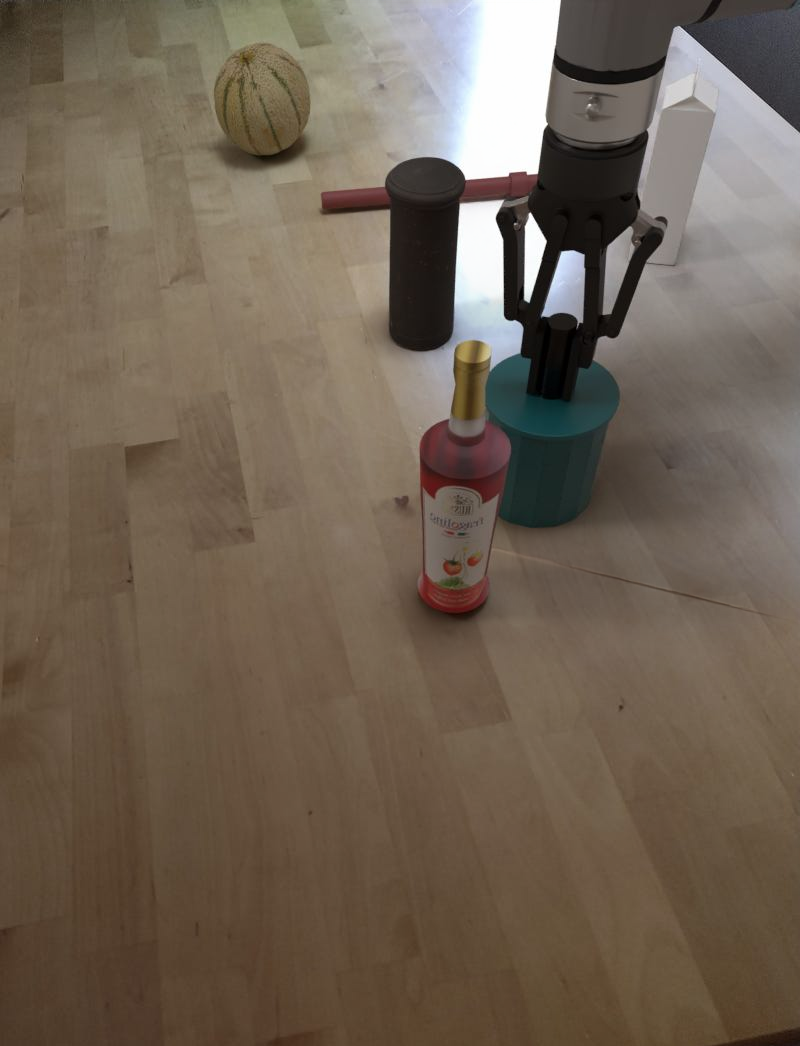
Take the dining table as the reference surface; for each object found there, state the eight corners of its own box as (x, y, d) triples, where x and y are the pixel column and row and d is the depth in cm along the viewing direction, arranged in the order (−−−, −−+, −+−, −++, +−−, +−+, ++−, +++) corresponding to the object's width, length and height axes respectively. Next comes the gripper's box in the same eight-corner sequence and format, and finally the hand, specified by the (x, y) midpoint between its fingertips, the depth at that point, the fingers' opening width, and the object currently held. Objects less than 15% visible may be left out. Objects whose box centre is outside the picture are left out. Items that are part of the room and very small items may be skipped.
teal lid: (629, 372, 87) (649, 292, 80) (602, 458, 80) (622, 379, 73) (501, 349, 90) (510, 270, 83) (465, 430, 83) (472, 351, 76)
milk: (627, 261, 118) (666, 79, 100) (632, 236, 121) (671, 56, 103) (675, 266, 116) (724, 82, 98) (679, 240, 120) (727, 58, 102)
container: (445, 304, 115) (453, 144, 99) (464, 346, 110) (476, 184, 93) (379, 315, 114) (377, 156, 98) (395, 358, 109) (395, 197, 93)
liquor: (494, 569, 89) (529, 325, 66) (486, 627, 85) (519, 388, 62) (421, 560, 90) (430, 317, 67) (409, 617, 86) (414, 379, 63)
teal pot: (600, 465, 96) (624, 369, 86) (576, 542, 90) (599, 448, 80) (495, 443, 99) (506, 348, 89) (465, 516, 93) (473, 422, 83)
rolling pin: (631, 179, 129) (636, 157, 127) (636, 190, 128) (641, 168, 125) (321, 205, 131) (320, 184, 129) (322, 217, 129) (321, 195, 127)
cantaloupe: (321, 127, 145) (314, 22, 133) (304, 174, 137) (295, 66, 125) (233, 126, 148) (218, 23, 135) (211, 172, 139) (194, 66, 127)
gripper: (477, 138, 65) (458, 397, 84) (701, 164, 61) (628, 431, 80) (504, 92, 69) (480, 349, 88) (717, 114, 65) (643, 379, 84)
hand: (551, 388), depth 84 cm, fingers closed on teal lid, 3 cm apart
